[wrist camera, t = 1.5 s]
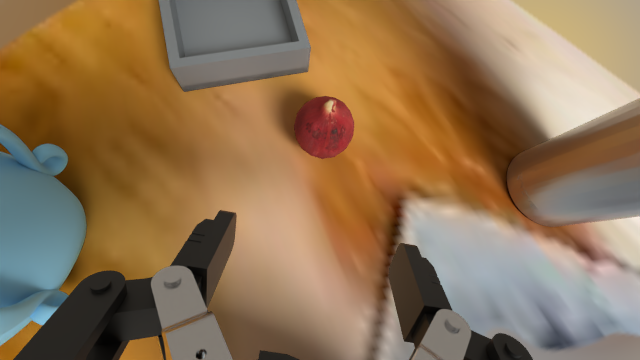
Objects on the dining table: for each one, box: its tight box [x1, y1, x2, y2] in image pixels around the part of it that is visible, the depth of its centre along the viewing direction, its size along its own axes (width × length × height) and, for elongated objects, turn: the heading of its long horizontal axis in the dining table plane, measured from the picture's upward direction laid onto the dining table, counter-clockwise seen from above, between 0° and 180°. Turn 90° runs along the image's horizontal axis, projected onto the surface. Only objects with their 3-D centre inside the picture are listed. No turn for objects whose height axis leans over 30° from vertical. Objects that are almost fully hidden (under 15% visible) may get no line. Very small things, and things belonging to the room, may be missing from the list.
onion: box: [294, 96, 354, 159], centre depth 28 cm, size 6×6×8 cm
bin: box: [159, 0, 311, 92], centre depth 32 cm, size 14×14×4 cm
